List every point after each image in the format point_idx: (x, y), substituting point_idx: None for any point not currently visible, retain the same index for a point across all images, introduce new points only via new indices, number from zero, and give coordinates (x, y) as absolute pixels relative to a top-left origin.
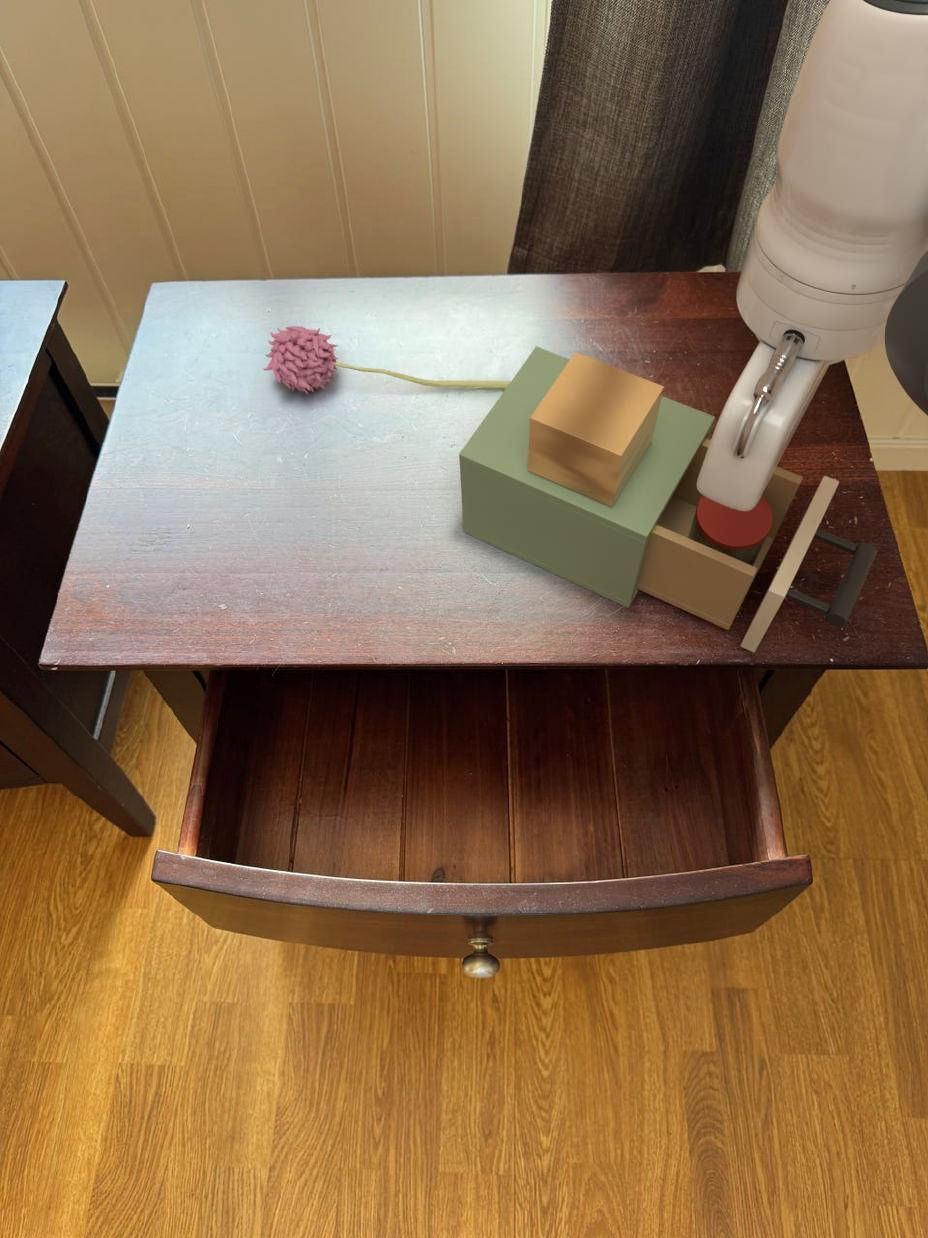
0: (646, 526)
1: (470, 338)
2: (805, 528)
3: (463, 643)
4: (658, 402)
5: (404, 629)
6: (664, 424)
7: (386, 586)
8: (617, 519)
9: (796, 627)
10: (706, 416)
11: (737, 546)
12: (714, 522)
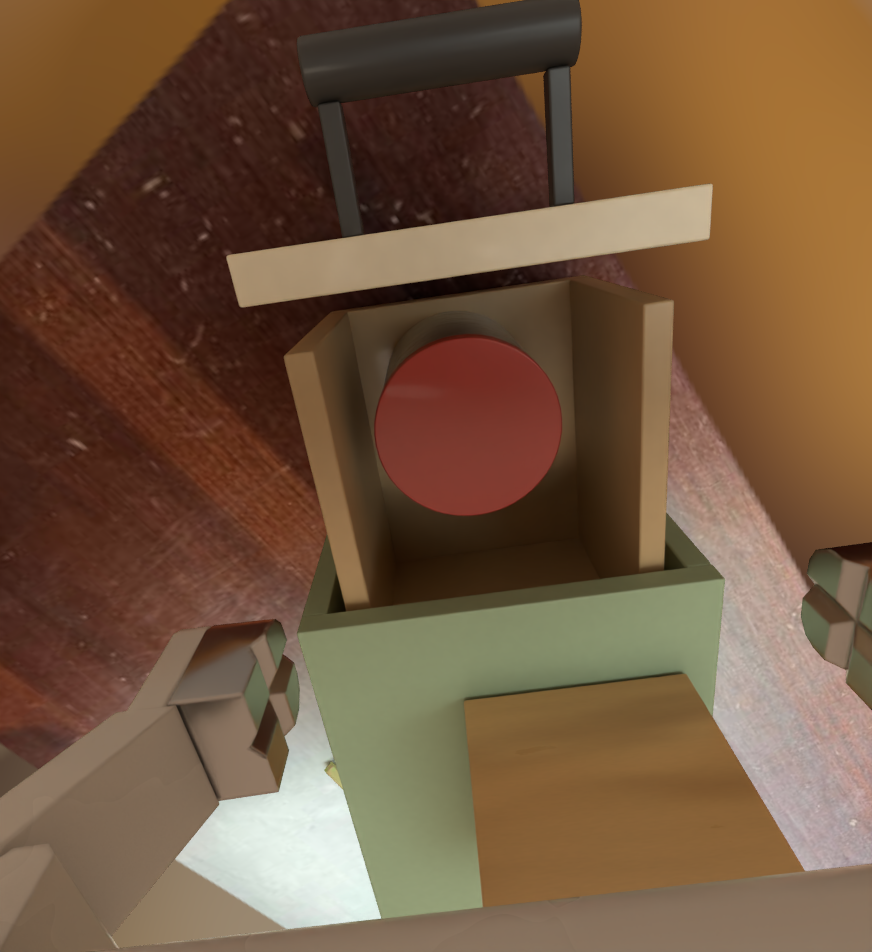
0: (696, 593)
1: (312, 853)
2: (451, 257)
3: (786, 601)
4: (506, 860)
5: (797, 668)
6: (398, 701)
7: (743, 718)
8: (709, 648)
9: (475, 157)
10: (311, 648)
11: (548, 379)
12: (516, 458)
